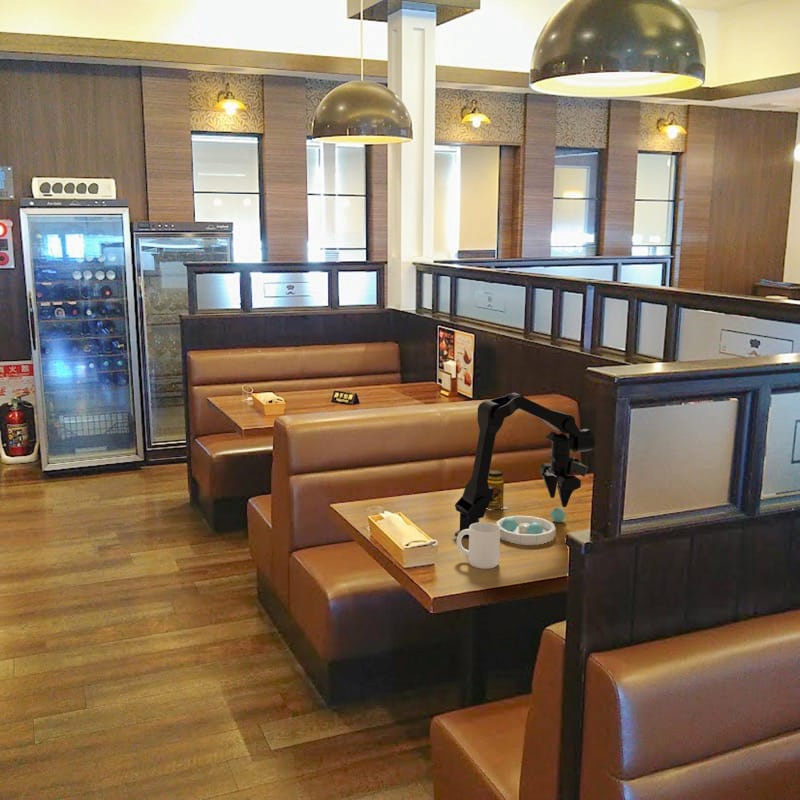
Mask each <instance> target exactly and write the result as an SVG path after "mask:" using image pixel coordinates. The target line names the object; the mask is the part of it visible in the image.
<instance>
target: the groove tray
mask: <svg viewBox="0 0 800 800" xmlns="http://www.w3.org/2000/svg"><path fill="white" fill-rule="evenodd" d="M508 517H511V518H513V519H515V520H516V522H517V528H516V529H515V531H513V532H510V531H507V530H505V529H504V528H503V527H502V522H503V520H504V519H505V518H508ZM532 523H539V524H540V525H541V526H542V527H543V533H540V534H529V533H528V527H529V525H530V524H532ZM495 524H496V525H498V526H499V527H500V540H502V541H504V542H506V543H509V542H510V544H513V543H514V544H515V545H520V546H521V545H522V546H539V545H540V544H541V545H545V544H544V543H546V544H548V543H547V542H549V543H551V542H552V541H554V539H555V536H556V530H557V529H556V527H555V524H554V523H553V522H552V521H549V520H548V519H545V518H542V517H537V516H531V515H510V516H505V517H502V518H500V519H498V520H497V521H496V522H495ZM551 540H552V541H551ZM550 541H551V542H550ZM514 544H513V545H514Z"/></svg>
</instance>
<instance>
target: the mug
mask: <svg viewBox="0 0 800 800" xmlns="http://www.w3.org/2000/svg"><path fill="white" fill-rule="evenodd" d="M464 535H469V538H468V549H466V548H465V547H464V546H463V544H462V538H463V536H464ZM456 537H457V538H456V546H457V549H458V550H459V552H461V554H463V555H465V556H468V563H469V564H470V566H472V567H473V568H477V569H482V570H483V569H484V570H487V569H488V570H490V569H494V568H496V567H498V565H499V563H500V552H501V551H500V550H501V549H500V547H501V539H500V527H499V526H498V525H496V523H492V522H485V521H484V522H483V521H482V522H481V521H479V522H478V523H473V524H471V525H470V526H469V529H465V530H462V531H461V532H460V533H459V534H458V535H456Z"/></svg>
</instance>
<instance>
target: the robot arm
mask: <svg viewBox="0 0 800 800" xmlns="http://www.w3.org/2000/svg"><path fill="white" fill-rule="evenodd" d="M517 410H521V411H522V412H525V413H527V414H529V415H531V416H533V417H536V418H538V419H540V420H542V421H543V422H544V423H545V424H546V425H547V426H549V427H550V428H551V429H552V430H555V431H557V432H558V433H557V432H554V431H551V432H550V433H549V434H547V435H546V436H545V439H546V440H548V441H551V454H548V459H550V462H549V463H548V462H547V463H546V462H545V463H542V464H541V465H539V474H541V477H542V479H543V481H544V485H545V487H546V489H547V492H548V494H549V497H550V498H551V499H554V498H555V497H556V492H557V491H558V495H559V499H560V503H561V505H562V508H566V507H567V506H568V504H569V501H570V498H571V495H572V494H573V492H574V491H575V490H578V489H580V488H581V487H582V480H581V479H580V478H579V477H577V476H576V475H575V474H577V475H580V476H581V477H583V478H585V477H586V474H587V471H588V469H589V467H588V466H587V465H585V464H583V463H582V462H580V459H578V457H575V456H573V457H572V456H571V455H572V454H571V453H572V452H574V453H581V452H588V451H592V450H593V449H594V448H595V445H596V443H595V439H594V436H593V435H592V430H591V429H588V428H583V429H579V427H578V426H577V424H576V418H575V417H574V416H573V415H571V414H568V413H566V412H562V411H560V410H555V409H549V408H548V407H545V406H543V405H541V404H538V402H535V401H532V400H530V399H528V398H526V397H524V396H523V394H519V393H516V392H512V393H508V394H506V395H504V396H499V397H495V398H493V399H491V400H484V401H483V402H481V403H480V404H479V405H478V406H477V417H476V418H477V419H476V420H477V424H478V428H479V433H478V439H477V445H476V450H475V455H474V456H475V457H474V462H473V469H472V473H471V478H470V479H469V480H468V482H467V483H466V485H465V487H464V490H463V493H462V496H461V497H460V498H459V499H458V501H457V502H456V503H455V504H454V507H455V510H456V512H459V530H457V531H456V532H454V535H455V536H458V534H459V533H460V532H461V531H462V530H465V529H469V526H470V525H471V524H473V523H478V522H480V519H482V518H484V516H485V514H486V511H487V510H486V508H488V507H489V504H490V502H492V494H493V488H491V487H490V486H489V485H488V477H489V471H490V470H491V465H492V459H493V452H494V446H495V442H496V436H497V434H498V432H499V431H500V429H501V428H502V427H503V424H504V421H505V419H506V418H508V417H511V416H512V415H513V414H514V413H515V412H516V411H517ZM559 432H560V433H559ZM571 451H572V452H571ZM463 537H464V538H467V539H469V535H464V536H463ZM463 537H462V538H463Z"/></svg>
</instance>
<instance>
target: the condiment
mask: <svg viewBox="0 0 800 800" xmlns="http://www.w3.org/2000/svg"><path fill="white" fill-rule="evenodd" d="M503 478H504V473H503V471H502V470H499V469H490V471H489V477H488V485H489V486H490V487H491V488H493V494H492V502H490V504H489V507H488V509H501V508H503V509H501V510H507V509H509V507H507V506H506V505H505V504H504V492H505V491H504V489H505V488H504V487H505V486H504V485H505V484H504V483H505V482H504V479H503ZM487 511H489V512H490V510H487Z"/></svg>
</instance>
